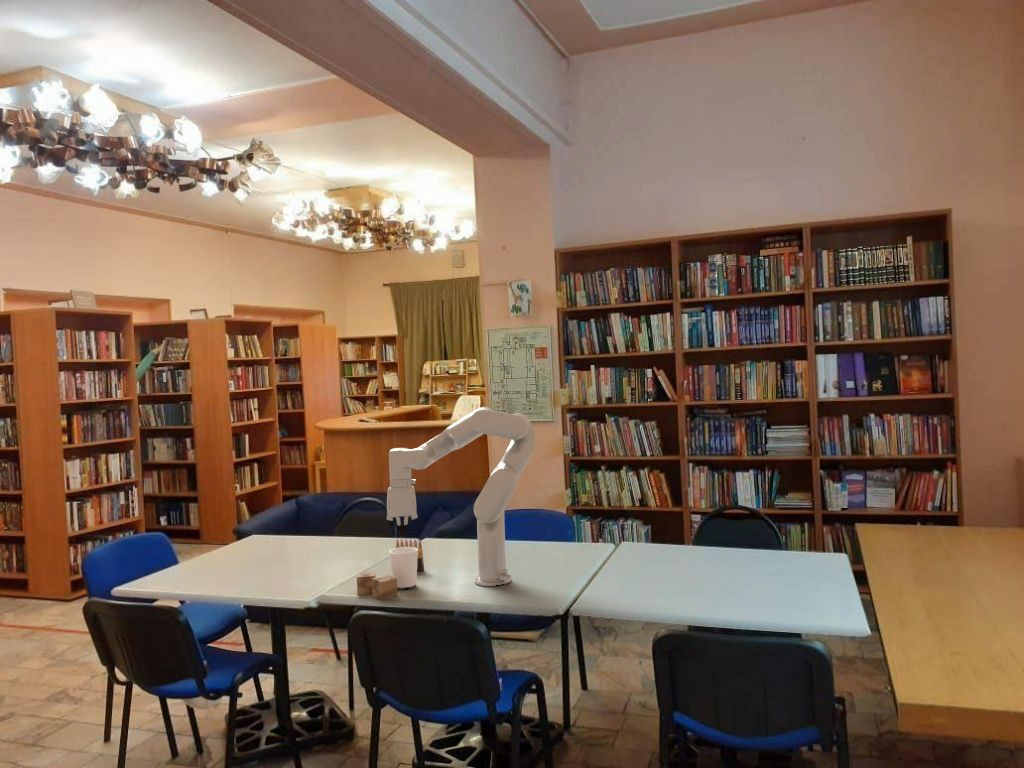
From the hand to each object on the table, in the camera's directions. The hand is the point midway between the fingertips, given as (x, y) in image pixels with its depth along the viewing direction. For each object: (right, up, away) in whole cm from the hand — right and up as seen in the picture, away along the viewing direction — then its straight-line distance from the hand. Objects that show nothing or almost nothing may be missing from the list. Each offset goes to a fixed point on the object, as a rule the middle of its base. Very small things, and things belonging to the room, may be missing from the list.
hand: (402, 535), depth 259 cm
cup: (+1, -17, -4) cm, 18 cm away
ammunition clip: (0, -17, +17) cm, 24 cm away
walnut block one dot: (-11, -18, -7) cm, 22 cm away
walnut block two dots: (-4, -17, -13) cm, 22 cm away
